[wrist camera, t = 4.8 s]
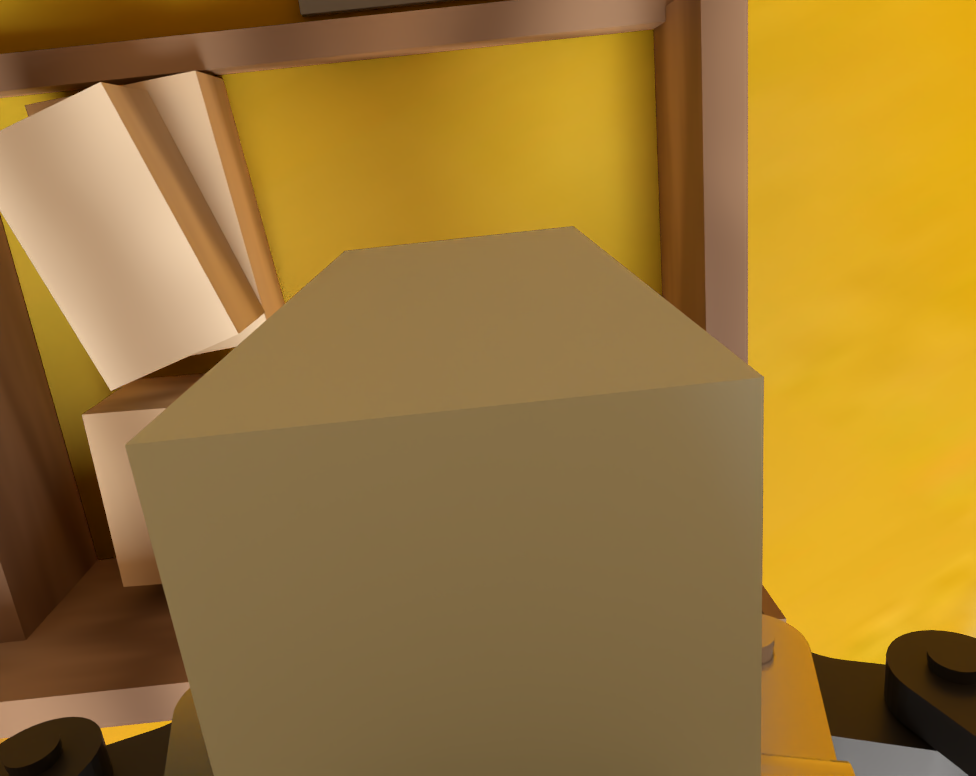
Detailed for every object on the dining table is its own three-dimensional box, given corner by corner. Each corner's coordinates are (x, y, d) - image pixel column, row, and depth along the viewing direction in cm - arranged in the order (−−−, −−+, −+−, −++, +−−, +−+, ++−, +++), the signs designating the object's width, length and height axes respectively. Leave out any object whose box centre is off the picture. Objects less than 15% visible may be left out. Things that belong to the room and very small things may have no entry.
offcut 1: (226, 80, 25) (195, 70, 22) (291, 319, 27) (271, 339, 24) (75, 110, 25) (24, 105, 22) (153, 346, 27) (117, 369, 24)
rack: (690, -10, 24) (797, -87, 16) (701, 524, 29) (785, 654, 22) (-81, 71, 24) (-336, 33, 16) (74, 591, 29) (-62, 744, 22)
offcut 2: (147, 91, 22) (100, 82, 19) (265, 312, 24) (238, 333, 21) (26, 149, 22) (-38, 148, 19) (152, 362, 24) (111, 390, 21)
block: (573, 226, 13) (763, 376, 5) (605, 698, 16) (757, 1308, 8) (345, 250, 13) (124, 445, 5) (419, 717, 16) (366, 1346, 8)
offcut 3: (247, 369, 27) (212, 404, 23) (273, 521, 29) (245, 577, 25) (135, 378, 27) (81, 414, 23) (168, 529, 29) (123, 586, 25)
